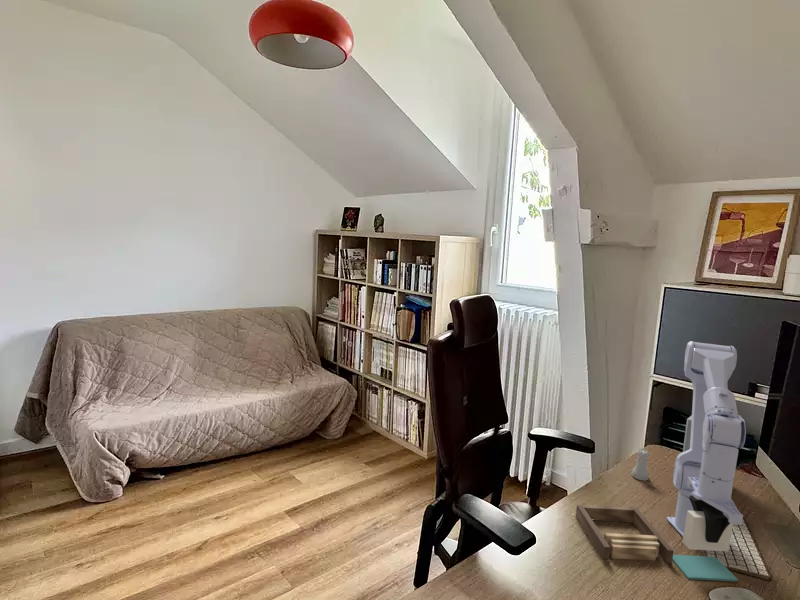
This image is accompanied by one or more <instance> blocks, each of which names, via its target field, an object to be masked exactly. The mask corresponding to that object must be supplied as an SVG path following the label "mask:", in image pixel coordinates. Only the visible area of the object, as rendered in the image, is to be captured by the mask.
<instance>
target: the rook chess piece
mask: <svg viewBox="0 0 800 600" xmlns="http://www.w3.org/2000/svg"><path fill="white" fill-rule="evenodd" d="M636 454H637V457H636V459H637V460H636V464H635V465H634V468H633V469H632V470H631V475H632V477H633V478H634V479H636V480H637V481H642V482H643V481H647V480H648V479H650V478H649V475H650V473H649V469H648V468H647V466H648V465H647V464H648V462H649V461H648V458H649V457H650V453H649V451H648V450H646V449H645V448H644V449H643V448H638V451H636Z"/></svg>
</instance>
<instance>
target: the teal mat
mask: <svg viewBox="0 0 800 600" xmlns="http://www.w3.org/2000/svg"><path fill="white" fill-rule="evenodd" d="M673 562H674V564H675V566H676V567H677V568H678V569H679V570H680V571H681V573H682V574H683V575H684V576H685V577H686V578H687V579H688V580H698V581H700V580H701V581H702V580H703V581H722V582H736V583H737V582H738V581H739V579H738V577H736V576H735V575H734V573H732V572H731V571H730V569H728V568H727V566H726V565H725V564H724V563H723V562H721V561H720V559H719V558H717V556H708V555H707V556H706V555H688V554H687V555H686V554H685V555H684V554H673V558H672V563H673Z"/></svg>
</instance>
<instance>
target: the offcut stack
mask: <svg viewBox="0 0 800 600" xmlns="http://www.w3.org/2000/svg"><path fill="white" fill-rule="evenodd" d="M603 535H604V536H603V537H604V539H605V540H606V542H607V543H608V545H609V546H610V554H609V557H610V558H611V559H614V560H615V559H616V560H617V559H618V560H620V559H622V560H636V561H654V562H655V561H656V559H657V558H658V556H659V554H658V551H659V543H658V542H657V541H658V538H657V537H656V536H654V535H643V534H634V533H632V534H631V533H630V534H629V533H611V532H604V534H603Z"/></svg>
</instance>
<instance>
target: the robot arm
mask: <svg viewBox="0 0 800 600" xmlns="http://www.w3.org/2000/svg"><path fill="white" fill-rule="evenodd" d="M737 359H738V351H737V349H736V347H734V345H720V344H713V343H704V342H697V341H693V340H690V341H688V342H687V344H686V346H685V351H684V363H683V364H684V366H683V372H684V376H685V377H686V378H687V379H689V380H690V381H691V383H692V384H691V385H692V408H691V415H692V421H691V438H690V449H689V450H687V451H685V452H683V451H682V452H681V453H679V454H677V457H676V458H675V464H674V468H673V477H672V478H673V481H672V482H673V486H674V487H675V489H677V490H678V493H677V500H676V508H675V516H666V520H667V521H668V523H670V524H671V525H672V527H673V528H674V529H675V530H676V531H677V533H679V534H680V535H681V536H682V538H683V537H684V530H685V523H686V516H687V510H688V511H703V512H704V516H705V521H706V530H705V537H706V541H707V542H711V543H718V541H719V539H720V537H721V535H722V533H723V532H724V530H725V529H726V527H727V526H728V525H729V524H730V523H731V524H733V525H739V526H740V525H743V520H744V519H743V518H744V514H742V513H741V512H740V511H739V509H738V507H737V506H736V504H735V502H734V501H733V499H732V493H733V487H734V480H735V473H736V469H737V464H738V463H737V462H738V457H739V450H740V449H742V448H744V445H745V442H746V437H747V435H746V433H747V429H746V421H745V419H744V418H742V415H740V414H739V412H738V408H737V402H736V396H735V393H733V392H732V391H731V390H729V389H728V381H729V379H730V378H731V376H732V374H733V372H734V370H735V369H736V366H737V362H738V360H737ZM684 462H689V463H694V464H699V465H701V466H697V465H692V464H687V463H684Z"/></svg>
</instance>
